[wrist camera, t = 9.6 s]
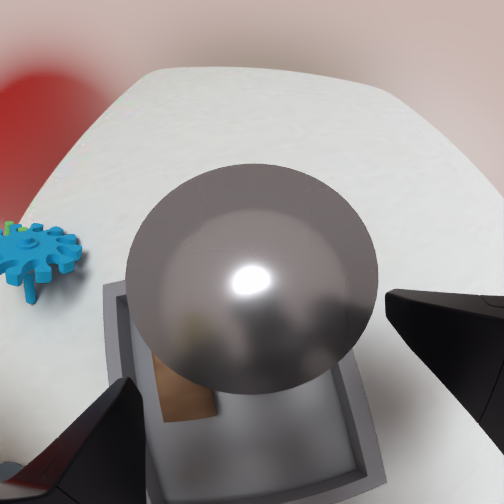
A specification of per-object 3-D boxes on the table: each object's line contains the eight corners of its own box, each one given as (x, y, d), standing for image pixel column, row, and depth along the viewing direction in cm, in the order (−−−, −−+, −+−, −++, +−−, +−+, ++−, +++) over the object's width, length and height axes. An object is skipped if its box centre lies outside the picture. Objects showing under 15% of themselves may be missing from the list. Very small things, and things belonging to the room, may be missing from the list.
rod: (202, 416, 15) (226, 413, 13) (157, 422, 13) (174, 422, 11) (183, 313, 18) (202, 295, 17) (140, 311, 17) (154, 292, 15)
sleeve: (313, 361, 16) (421, 269, 5) (254, 409, 15) (226, 452, 3) (264, 307, 18) (264, 137, 6) (206, 351, 17) (92, 244, 5)
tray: (371, 473, 13) (386, 482, 10) (158, 513, 11) (144, 526, 9) (307, 257, 20) (313, 238, 18) (119, 298, 19) (102, 284, 17)
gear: (103, 252, 19) (-20, 278, 11) (101, 316, 21) (-2, 351, 12) (55, 209, 24) (-31, 220, 15) (53, 261, 26) (-25, 278, 17)
